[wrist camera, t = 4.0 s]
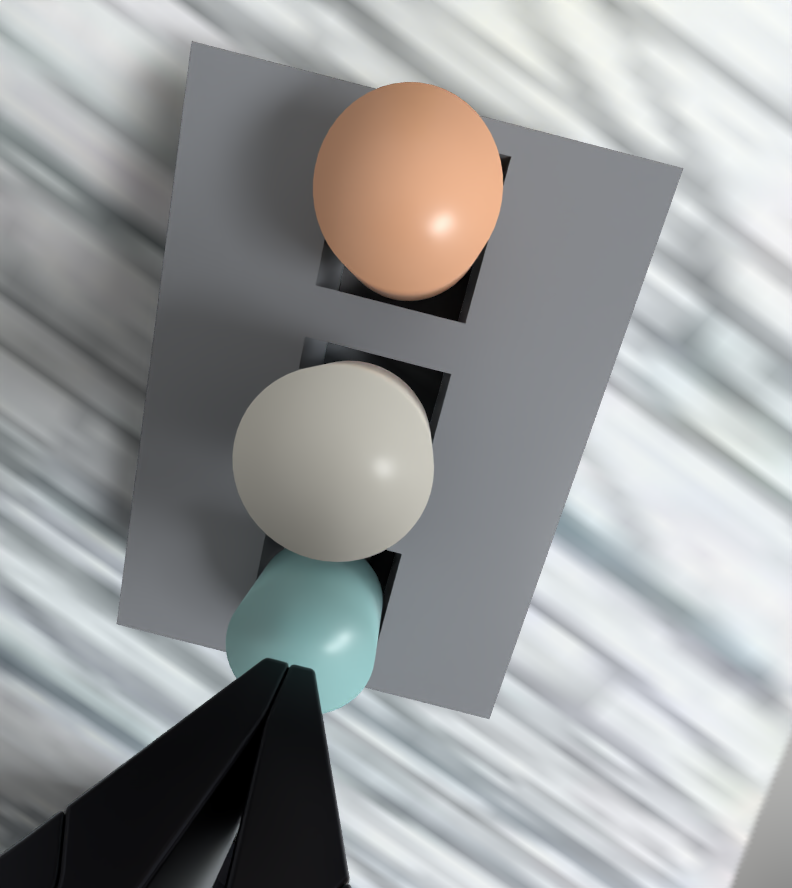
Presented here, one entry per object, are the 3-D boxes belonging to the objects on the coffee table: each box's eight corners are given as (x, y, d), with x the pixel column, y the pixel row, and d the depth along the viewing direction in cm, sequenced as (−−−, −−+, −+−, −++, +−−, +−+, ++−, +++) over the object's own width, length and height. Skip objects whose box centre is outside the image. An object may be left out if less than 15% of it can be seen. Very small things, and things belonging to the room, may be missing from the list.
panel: (476, 652, 13) (489, 719, 11) (170, 573, 13) (116, 623, 11) (624, 207, 11) (683, 167, 8) (242, 108, 10) (192, 41, 8)
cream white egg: (411, 494, 11) (404, 582, 7) (292, 464, 11) (217, 534, 7) (443, 375, 10) (458, 395, 6) (317, 343, 10) (251, 341, 6)
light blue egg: (375, 611, 13) (356, 730, 9) (277, 587, 13) (215, 693, 9) (400, 520, 12) (391, 603, 8) (297, 493, 12) (239, 564, 8)
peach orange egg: (453, 322, 11) (472, 310, 7) (340, 293, 11) (295, 265, 7) (487, 197, 10) (527, 110, 6) (367, 166, 10) (335, 60, 6)
